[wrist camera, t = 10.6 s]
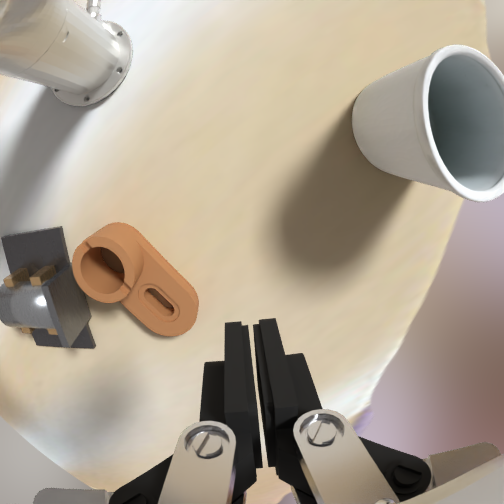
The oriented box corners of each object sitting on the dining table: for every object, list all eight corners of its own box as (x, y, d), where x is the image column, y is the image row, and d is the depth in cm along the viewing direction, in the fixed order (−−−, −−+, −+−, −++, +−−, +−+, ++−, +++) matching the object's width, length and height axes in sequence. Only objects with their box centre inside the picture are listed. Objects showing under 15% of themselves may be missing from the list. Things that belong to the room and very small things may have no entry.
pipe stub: (4, 236, 36) (-28, 253, 28) (68, 225, 36) (36, 243, 28) (38, 342, 42) (17, 370, 34) (101, 345, 43) (83, 378, 35)
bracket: (84, 249, 38) (61, 267, 31) (119, 209, 37) (98, 221, 30) (171, 335, 43) (163, 363, 37) (211, 303, 42) (208, 330, 35)
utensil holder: (346, 178, 37) (423, 201, 21) (341, 68, 32) (413, 24, 16) (433, 181, 38) (521, 205, 21) (430, 84, 33) (516, 69, 17)
